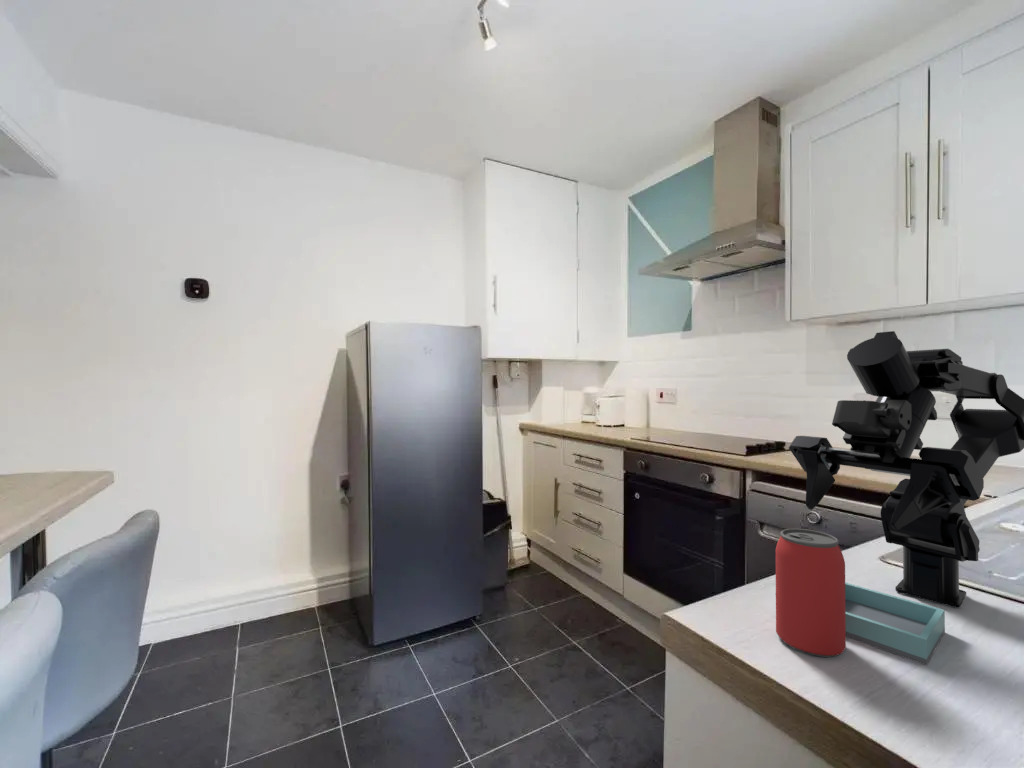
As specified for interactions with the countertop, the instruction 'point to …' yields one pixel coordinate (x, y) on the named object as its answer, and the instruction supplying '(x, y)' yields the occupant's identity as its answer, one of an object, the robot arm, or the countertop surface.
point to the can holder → (893, 623)
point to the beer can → (810, 592)
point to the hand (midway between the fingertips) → (847, 516)
